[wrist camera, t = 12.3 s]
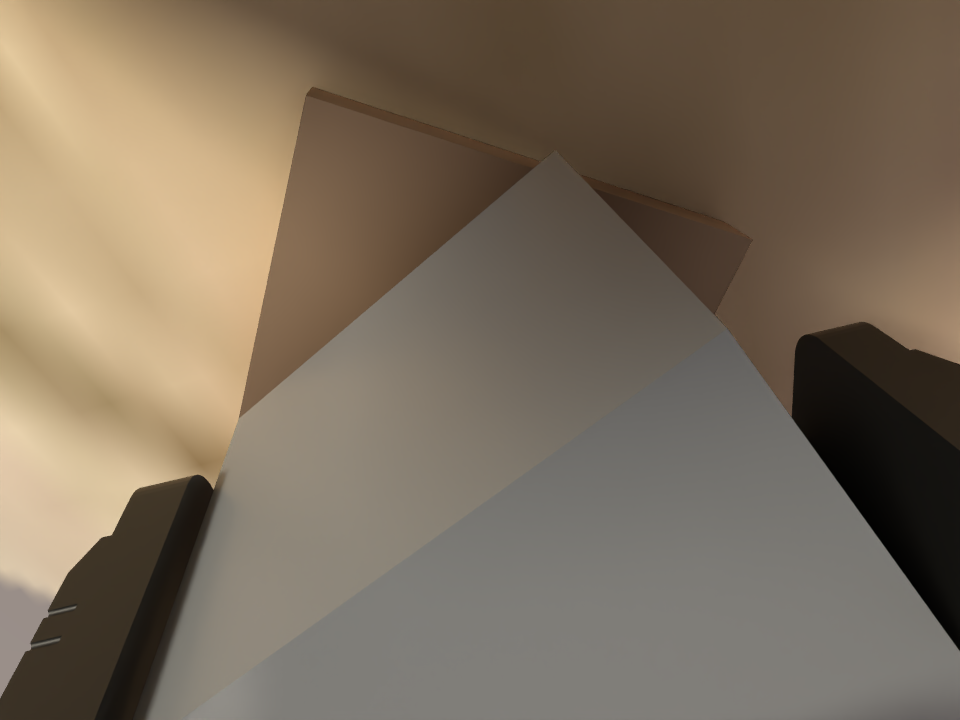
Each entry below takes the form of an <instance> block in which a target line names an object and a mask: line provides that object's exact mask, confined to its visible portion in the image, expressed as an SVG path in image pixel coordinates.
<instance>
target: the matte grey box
mask: <svg viewBox="0 0 960 720" xmlns="http://www.w3.org/2000/svg"><path fill="white" fill-rule="evenodd" d="M133 720H960V651H959V650H958V648H957V647H956V645H955V644H954V643H953V641H952V640H951V639H950V637H949V636H948V634H947V633H946V632H945V630H944V629H943V627H942V626H941V625H940V623H939V622H938V620H937V619H936V618H935V616H934V615H933V614H932V612H931V611H930V609H929V608H928V607H927V605H926V604H925V602H924V601H923V600H922V598H921V597H920V595H919V594H918V593H917V591H916V590H915V589H914V587H913V586H912V584H911V583H910V582H909V580H908V579H907V577H906V576H905V575H904V573H903V572H902V570H901V569H900V568H899V566H898V565H897V564H896V562H895V561H894V559H893V558H892V557H891V555H890V554H889V552H888V551H887V550H886V548H885V547H884V545H883V544H882V543H881V541H880V540H879V539H878V537H877V536H876V534H875V533H874V532H873V530H872V529H871V527H870V526H869V525H868V523H867V522H866V520H865V519H864V518H863V516H862V515H861V513H860V512H859V511H858V509H857V508H856V507H855V505H854V504H853V502H852V501H851V500H850V498H849V497H848V495H847V494H846V493H845V491H844V490H843V488H842V487H841V486H840V484H839V483H838V482H837V480H836V479H835V477H834V476H833V475H832V473H831V472H830V470H829V469H828V468H827V466H826V465H825V463H824V462H823V461H822V459H821V458H820V457H819V455H818V454H817V452H816V451H815V450H814V448H813V447H812V445H811V444H810V443H809V441H808V440H807V438H806V437H805V436H804V434H803V433H802V432H801V430H800V429H799V427H798V426H797V425H796V423H795V422H794V420H793V419H792V418H791V416H790V415H789V413H788V412H787V411H786V409H785V408H784V407H783V405H782V404H781V402H780V401H779V400H778V398H777V397H776V395H775V394H774V393H773V391H772V390H771V388H770V387H769V386H768V384H767V383H766V381H765V380H764V379H763V377H762V376H761V375H760V373H759V372H758V370H757V369H756V368H755V366H754V365H753V363H752V362H751V361H750V359H749V358H748V356H747V355H746V354H745V352H744V351H743V350H742V348H741V347H740V345H739V344H738V343H737V341H736V340H735V338H734V337H733V336H732V334H731V333H730V331H729V330H728V329H727V328H726V327H725V326H724V325H723V323H722V322H721V321H720V320H719V319H718V318H717V317H716V316H715V315H714V314H713V313H712V312H711V311H710V310H709V309H708V308H707V307H706V306H705V305H704V304H703V303H702V302H701V301H700V300H699V299H698V298H697V297H696V295H695V294H694V293H693V292H692V291H691V290H690V289H689V288H688V287H687V286H686V285H685V284H684V283H683V282H682V281H681V280H680V279H679V278H678V277H677V276H676V275H675V274H674V273H673V272H672V271H671V270H670V269H669V267H668V266H667V265H666V264H665V263H664V262H663V261H662V260H661V259H660V258H659V257H658V256H657V255H656V254H655V253H654V252H653V251H652V250H651V249H650V248H649V247H648V246H647V245H646V244H645V243H644V242H643V241H642V239H641V238H640V237H639V236H638V235H637V234H636V233H635V232H634V231H633V230H632V229H631V228H630V227H629V226H628V225H627V224H626V223H625V222H624V221H623V220H622V219H621V218H620V217H619V216H618V215H617V214H616V213H615V211H614V210H613V209H612V208H611V207H610V206H609V205H608V204H607V203H606V202H605V201H604V200H603V199H602V198H601V197H600V196H599V195H598V194H597V193H596V192H595V191H594V190H593V189H592V188H591V187H590V186H589V185H588V183H587V182H586V181H585V180H584V179H583V178H582V177H581V176H580V175H579V174H578V173H577V172H576V171H575V170H574V169H573V168H572V167H571V166H570V165H569V164H568V163H567V162H566V161H565V160H564V159H563V158H562V157H561V155H560V154H559V153H558V152H557V151H556V150H555V151H553V152H552V153H551V154H550V155H549V156H547V157H546V158H545V159H544V160H543V161H542V162H540V163H539V164H538V165H537V166H536V167H535V168H533V169H532V170H531V171H530V172H529V173H527V174H526V175H525V176H524V177H523V178H522V179H520V180H519V181H518V182H517V183H516V184H515V185H513V186H512V187H511V188H510V189H509V190H507V191H506V192H505V193H504V194H503V195H502V196H500V197H499V198H498V199H497V200H496V201H495V202H493V203H492V204H491V205H490V206H489V207H487V208H486V209H485V210H484V211H483V212H482V213H480V214H479V215H478V216H477V217H476V218H475V219H473V220H472V221H471V222H470V223H469V224H467V225H466V226H465V227H464V228H463V229H462V230H460V231H459V232H458V233H457V234H456V235H454V236H453V237H452V238H451V239H450V240H449V241H447V242H446V243H445V244H444V245H443V246H442V247H440V248H439V249H438V250H437V251H436V252H434V253H433V254H432V255H431V256H430V257H429V258H427V259H426V260H425V261H424V262H423V263H422V264H420V265H419V266H418V267H417V268H416V269H414V270H413V271H412V272H411V273H410V274H409V275H407V276H406V277H405V278H404V279H403V280H402V281H400V282H399V283H398V284H397V285H396V286H394V287H393V288H392V289H391V290H390V291H389V292H387V293H386V294H385V295H384V296H383V297H382V298H380V299H379V300H378V301H377V302H376V303H374V304H373V305H372V306H371V307H370V308H369V309H367V310H366V311H365V312H364V313H363V314H361V315H360V316H359V317H358V318H357V319H356V320H354V321H353V322H352V323H351V324H350V325H349V326H347V327H346V328H345V329H344V330H343V331H341V332H340V333H339V334H338V335H337V336H336V337H334V338H333V339H332V340H331V341H330V342H329V343H327V344H326V345H325V346H324V347H323V348H321V349H320V350H319V351H318V352H317V353H316V354H314V355H313V356H312V357H311V358H310V359H309V360H307V361H306V362H305V363H304V364H303V365H301V366H300V367H299V368H298V369H297V370H296V371H294V372H293V373H292V374H291V375H290V376H289V377H287V378H286V379H285V380H284V381H283V382H281V383H280V384H279V385H278V386H277V387H276V388H274V389H273V390H272V391H271V392H270V393H269V394H267V395H266V396H265V397H264V398H263V399H261V400H260V401H259V402H258V403H257V404H256V405H254V406H253V407H252V408H251V409H250V410H248V411H247V412H246V413H245V414H244V415H243V416H241V417H240V418H239V420H238V423H237V426H236V428H235V431H234V434H233V437H232V440H231V443H230V445H229V448H228V451H227V454H226V457H225V460H224V462H223V465H222V468H221V471H220V474H219V477H218V479H217V482H216V485H215V488H214V491H213V494H212V496H211V499H210V502H209V505H208V508H207V511H206V513H205V516H204V519H203V522H202V525H201V528H200V530H199V533H198V536H197V539H196V542H195V545H194V547H193V550H192V553H191V556H190V559H189V562H188V564H187V567H186V570H185V573H184V576H183V579H182V581H181V584H180V587H179V590H178V593H177V596H176V598H175V601H174V604H173V607H172V610H171V613H170V615H169V618H168V621H167V624H166V627H165V630H164V632H163V635H162V638H161V641H160V644H159V646H158V649H157V652H156V655H155V658H154V661H153V663H152V666H151V669H150V672H149V675H148V678H147V680H146V683H145V686H144V689H143V692H142V695H141V697H140V700H139V703H138V706H137V709H136V712H135V714H134V717H133Z"/></svg>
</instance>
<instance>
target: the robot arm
mask: <svg viewBox="0 0 960 720" xmlns="http://www.w3.org/2000/svg"><path fill="white" fill-rule="evenodd" d="M792 419H793V420H794V422H795V423H796V425H797V426H798V427H799V429H800V430H801V432H802V433H803V434H804V436H805V437H806V438H807V440H808V441H809V443H810V444H811V445H812V447H813V448H814V450H815V451H816V452H817V454H818V455H819V457H820V458H821V459H822V461H823V462H824V463H825V465H826V466H827V468H828V469H829V470H830V472H831V473H832V475H833V476H834V477H835V479H836V480H837V482H838V483H839V484H840V486H841V487H842V488H843V490H844V491H845V493H846V494H847V495H848V497H849V498H850V500H851V501H852V502H853V504H854V505H855V507H856V508H857V509H858V511H859V512H860V513H861V515H862V516H863V518H864V519H865V520H866V522H867V523H868V525H869V526H870V527H871V529H872V530H873V532H874V533H875V534H876V536H877V537H878V539H879V540H880V541H881V543H882V544H883V545H884V547H885V548H886V550H887V551H888V552H889V554H890V555H891V557H892V558H893V559H894V561H895V562H896V564H897V565H898V566H899V568H900V569H901V570H902V572H903V573H904V575H905V576H906V577H907V579H908V580H909V582H910V583H911V584H912V586H913V587H914V589H915V590H916V591H917V593H918V594H919V595H920V597H921V598H922V600H923V601H924V602H925V604H926V605H927V607H928V608H929V609H930V611H931V612H932V614H933V615H934V616H935V618H936V619H937V620H938V622H939V623H940V625H941V626H942V627H943V629H944V630H945V632H946V633H947V634H948V636H949V637H950V639H951V640H952V641H953V643H954V644H955V645H956V647H957V648H958V650H959V651H960V365H959V364H957V363H954V362H951V361H948V360H945V359H942V358H939V357H936V356H933V355H931V354H928V353H925V352H922V351H919V350H916V349H914V350H908V349H907V348H905V347H904V346H902V345H901V344H899V343H898V342H896V341H895V340H893V339H892V338H891V337H889V336H888V335H886V334H885V333H883V332H882V331H880V330H879V329H877V328H876V327H874V326H873V325H871V324H869V323H865V322H859V323H854V324H850V325H846V326H842V327H837V328H833V329H829V330H824V331H820V332H816V333H811V334H807V335H804V336H802V337H801V338H800V339H799V341H798V343H797V346H796V350H795V364H794V384H793V404H792ZM213 491H214V490H213V488H212V487H211V485H210V483H209V482H208V481H207V480H206V479H205V478H204V477H203V476H201V475H194V476H190V477H186V478H181V479H177V480H173V481H168V482H164V483H160V484H156V485H151V486H147V487H143V488H139V489H137V490H136V491H135V492H134V493H133V495H132V496H131V498H130V500H129V502H128V504H127V506H126V508H125V510H124V512H123V514H122V516H121V518H120V520H119V522H118V524H117V526H116V528H115V530H114V532H113V534H112V535H111V536H107V537H102V538H101V539H100V540H99V541H98V542H97V543H96V544H95V545H94V546H93V547H92V548H91V549H90V550H89V552H88V553H87V554H86V555H85V556H84V557H83V558H82V559H81V560H80V561H79V562H78V563H77V564H76V565H75V566H74V567H73V568H72V569H71V570H70V572H69V573H68V574H67V576H66V578H65V580H64V582H63V583H62V585H61V587H60V589H59V591H58V593H57V594H56V596H55V598H54V600H53V602H52V604H51V606H50V607H49V609H48V612H49V616H48V618H44V619H43V620H42V622H41V624H40V626H39V628H38V630H37V632H36V633H35V635H34V637H33V639H32V641H31V650H30V651H26V652H25V654H24V656H23V657H22V659H21V661H20V663H19V665H18V667H17V668H16V670H15V672H14V674H13V676H12V678H11V679H10V681H9V683H8V685H7V687H6V689H5V691H4V692H3V694H2V696H1V698H0V720H133V717H134V714H135V712H136V709H137V706H138V703H139V700H140V697H141V695H142V692H143V689H144V686H145V683H146V680H147V678H148V675H149V672H150V669H151V666H152V663H153V661H154V658H155V655H156V652H157V649H158V646H159V644H160V641H161V638H162V635H163V632H164V630H165V627H166V624H167V621H168V618H169V615H170V613H171V610H172V607H173V604H174V601H175V598H176V596H177V593H178V590H179V587H180V584H181V581H182V579H183V576H184V573H185V570H186V567H187V564H188V562H189V559H190V556H191V553H192V550H193V547H194V545H195V542H196V539H197V536H198V533H199V530H200V528H201V525H202V522H203V519H204V516H205V513H206V511H207V508H208V505H209V502H210V499H211V496H212V494H213Z"/></svg>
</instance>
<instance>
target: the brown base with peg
mask: <svg viewBox="0 0 960 720" xmlns="http://www.w3.org/2000/svg"><path fill="white" fill-rule="evenodd" d="M539 163H540V161H537V160H534V159H531V158H528V157H525V156H522V155H519V154H516V153H512V152H509V151H506V150H503V149H500V148H497V147H494V146H491V145H488V144H485V143H482V142H479V141H476V140H473V139H470V138H467V137H464V136H461V135H457V134H454V133H451V132H448V131H445V130H442V129H439V128H436V127H433V126H430V125H427V124H424V123H421V122H418V121H415V120H412V119H409V118H406V117H402V116H399V115H396V114H393V113H390V112H387V111H384V110H381V109H378V108H375V107H372V106H369V105H366V104H363V103H360V102H357V101H354V100H351V99H347V98H344V97H341V96H338V95H335V94H332V93H329V92H326V91H323V90H320V89H317V88H314V87H312V88H311V90H310V91H309V92H308V93H307V95H306V98H305V103H304V108H303V112H302V117H301V122H300V127H299V132H298V136H297V141H296V146H295V151H294V156H293V161H292V165H291V170H290V175H289V180H288V185H287V189H286V194H285V199H284V204H283V209H282V213H281V218H280V223H279V228H278V233H277V238H276V242H275V247H274V252H273V257H272V262H271V266H270V271H269V276H268V281H267V286H266V290H265V295H264V300H263V305H262V310H261V314H260V319H259V324H258V329H257V334H256V339H255V343H254V348H253V353H252V358H251V363H250V367H249V372H248V377H247V382H246V387H245V391H244V396H243V401H242V406H241V411H240V415H239V418H240V417H241V416H243V415H244V414H245V413H246V412H247V411H248V410H250V409H251V408H252V407H253V406H254V405H256V404H257V403H258V402H259V401H260V400H261V399H263V398H264V397H265V396H266V395H267V394H269V393H270V392H271V391H272V390H273V389H274V388H276V387H277V386H278V385H279V384H280V383H281V382H283V381H284V380H285V379H286V378H287V377H289V376H290V375H291V374H292V373H293V372H294V371H296V370H297V369H298V368H299V367H300V366H301V365H303V364H304V363H305V362H306V361H307V360H309V359H310V358H311V357H312V356H313V355H314V354H316V353H317V352H318V351H319V350H320V349H321V348H323V347H324V346H325V345H326V344H327V343H329V342H330V341H331V340H332V339H333V338H334V337H336V336H337V335H338V334H339V333H340V332H341V331H343V330H344V329H345V328H346V327H347V326H349V325H350V324H351V323H352V322H353V321H354V320H356V319H357V318H358V317H359V316H360V315H361V314H363V313H364V312H365V311H366V310H367V309H369V308H370V307H371V306H372V305H373V304H374V303H376V302H377V301H378V300H379V299H380V298H382V297H383V296H384V295H385V294H386V293H387V292H389V291H390V290H391V289H392V288H393V287H394V286H396V285H397V284H398V283H399V282H400V281H402V280H403V279H404V278H405V277H406V276H407V275H409V274H410V273H411V272H412V271H413V270H414V269H416V268H417V267H418V266H419V265H420V264H422V263H423V262H424V261H425V260H426V259H427V258H429V257H430V256H431V255H432V254H433V253H434V252H436V251H437V250H438V249H439V248H440V247H442V246H443V245H444V244H445V243H446V242H447V241H449V240H450V239H451V238H452V237H453V236H454V235H456V234H457V233H458V232H459V231H460V230H462V229H463V228H464V227H465V226H466V225H467V224H469V223H470V222H471V221H472V220H473V219H475V218H476V217H477V216H478V215H479V214H480V213H482V212H483V211H484V210H485V209H486V208H487V207H489V206H490V205H491V204H492V203H493V202H495V201H496V200H497V199H498V198H499V197H500V196H502V195H503V194H504V193H505V192H506V191H507V190H509V189H510V188H511V187H512V186H513V185H515V184H516V183H517V182H518V181H519V180H520V179H522V178H523V177H524V176H525V175H526V174H527V173H529V172H530V171H531V170H532V169H533V168H535V167H536V166H537V165H538V164H539ZM579 175H580V174H579ZM580 176H581V177H582V178H583V179H584V180H585V181H586V182H587V183H588V185H589V186H590V187H591V188H592V189H593V190H594V191H595V192H596V193H597V194H598V195H599V196H600V197H601V198H602V199H603V200H604V201H605V202H606V203H607V204H608V205H609V206H610V207H611V208H612V209H613V210H614V211H615V213H616V214H617V215H618V216H619V217H620V218H621V219H622V220H623V221H624V222H625V223H626V224H627V225H628V226H629V227H630V228H631V229H632V230H633V231H634V232H635V233H636V234H637V235H638V236H639V237H640V238H641V239H642V241H643V242H644V243H645V244H646V245H647V246H648V247H649V248H650V249H651V250H652V251H653V252H654V253H655V254H656V255H657V256H658V257H659V258H660V259H661V260H662V261H663V262H664V263H665V264H666V265H667V266H668V267H669V269H670V270H671V271H672V272H673V273H674V274H675V275H676V276H677V277H678V278H679V279H680V280H681V281H682V282H683V283H684V284H685V285H686V286H687V287H688V288H689V289H690V290H691V291H692V292H693V293H694V294H695V295H696V297H697V298H698V299H699V300H700V301H701V302H702V303H703V304H704V305H705V306H706V307H707V308H708V309H709V310H710V311H711V312H712V313H713V314H715V312H716V310H717V308H718V306H719V304H720V302H721V300H722V298H723V296H724V294H725V292H726V291H727V289H728V287H729V285H730V283H731V281H732V279H733V277H734V275H735V273H736V271H737V269H738V267H739V265H740V263H741V261H742V260H743V258H744V256H745V254H746V252H747V250H748V248H749V246H750V244H751V242H752V239H751V238H749V237H748V236H746V235H744V234H743V233H741V232H740V231H738V230H736V229H735V228H733V227H732V226H730V225H729V224H727V223H725V222H723V221H720V220H717V219H714V218H711V217H708V216H705V215H702V214H699V213H696V212H693V211H690V210H687V209H684V208H681V207H677V206H674V205H671V204H668V203H665V202H662V201H659V200H656V199H653V198H650V197H647V196H644V195H641V194H638V193H635V192H632V191H629V190H626V189H622V188H619V187H616V186H613V185H610V184H607V183H604V182H601V181H598V180H595V179H592V178H589V177H586V176H583V175H580Z"/></svg>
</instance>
